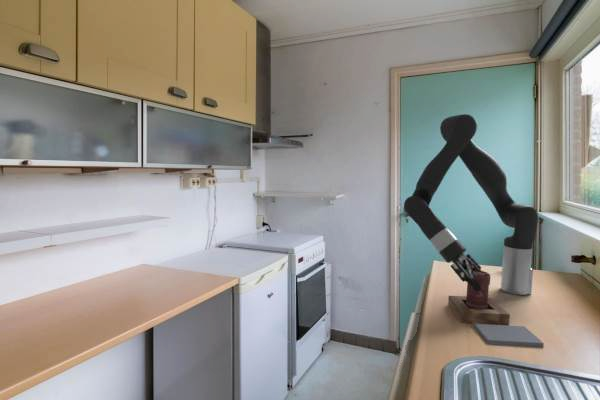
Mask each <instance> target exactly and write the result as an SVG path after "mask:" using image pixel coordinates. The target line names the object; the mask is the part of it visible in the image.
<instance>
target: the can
mask: <svg viewBox="0 0 600 400" xmlns="http://www.w3.org/2000/svg"><path fill="white" fill-rule="evenodd" d="M471 274H472V276H473V278H475V280H476V281H477V282H478V283H479V284H480V285H481V287H482V289H480V290H479V291H477V292H476V291H475V290H474V289H473V288H472V287H471V285H470V284H469V283H468V282H466V284H467V286H466V296H467V298H466V306H467V307H468V308H469V309H487V305H488V297H489V289H490V285H491V275H490V273H488V271H483V270H481V271H479V270H472V272H471Z"/></svg>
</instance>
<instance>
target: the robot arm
mask: <svg viewBox="0 0 600 400" xmlns="http://www.w3.org/2000/svg"><path fill="white" fill-rule="evenodd" d="M439 128H440V129H439V130H440V135H441V137H442V138H443V139H444V142H446V143H445V145H444V146H443V147H442V148H441V150H440V151H439V152H438V153H437V154H436V155H435V156H434V157H433V159H431V160H430V162H428V164H427V165H426V167H425V168H424V169H423V171H422V173H421V175H420V177H418V180H417V183H416V184H415V185H416V186H415V189H414V192H413V193H412V195H411V196H408V197H407V198H406V199H405V200H404V203H403V208H404V209H403V210H404V211H405V213H406V214H407V216H408V217H410V218H411V219H412V221H413V222H415V223H416V224H417V226H418V227H419V229H420V231H422V233H423V235H424V236H425V237H426V239H428V241H429V242H430V243H431V244H432V246H433V249H435V250H436V251H437V252H438V254H439V255H440V256H441V257H442V259H444V261H445V262H446V263H448V264H449V263H451V262H452V264H451V265H450V267H451V268H452V270H453V271H454V273H455V274H456V275H457V277H459V279H460V280H461V281H462V282H463V283H464V282H465V283H467V282H468V283H469V284H470V285H471V287H472V288H473V289H474V290H475V291H476V292H477V291H479V290H480V289H482V287H481V285H480V284H479V283H478V282H477V281H476V280H475V278H473V276H472V274H471V272H472V270H479V271H482V266H481V265H480V264H479V263H478V262H477V261H476V260H475V259H474V257H473V256H472V255H470V253H468V254H466V255H465V252H466V251H467V248H466V247H465V245H464V244H463V243H462V241H460V240H459V239H458V238H457V236H455V234H454V233H453V232H452V231H451V230H450V229H448V228H447V226H446V225H445V224H444V223H443V222H442V220H441V219H440V218H439V217H438V216H436V215H435V213H434V212H433V211H432V209H431V208H430V205H431V204H430V203H431V201H432V199H433V197H434V195H435V194H436V192H437V190H438V189H439V187H440V185H441V183H442V181H443V180H444V178H445V176H446V174H447V173H448V171H449V170H450V168H451V166H452V165H453V164H454V163H455V161H456V160H457V158H458V157H459V158H460V160H461V161H462V163H463V164H464V165H465V167H466V168H467V170H468V171H469V172H470V173H471V175H472V177H473V178H474V180H475V181H476V183H477V184H478V186H479V187H480V188H481V189H482V190H483V192H484V193H485V195H486V197H487V198H488V200H490V202H491V203H492V205H493V208H494V209H495V211H496V213H497V215H498V216H499V219H500V220H501V222H502V223H503V224H504V225H505V226H507V227H509V228H513V229H514V230H513V234H512V235H510V236H506V237H505V238H504V241H503V253H502V267H501V278H500V279H501V280H500V281H501V282H500V290H501V291H503V292H505V293H509V294H512V295H518V296H525V295H531V294H532V290H533V289H532V288H533V277H534V269H533V268H532V257H533V255H532V254H533V247H534V246H533V245H534V243H535V241H536V238H537V237H536V236H537V231H538V223H539V213H538V211H537V209H536V208H535V207H534V206H531V205H528V204H521V203H517V202H515V200H514V199H513V198H512V197H511V195H510V194H509V192H508V189H507V185H508V183H507V181H508V180H507V176H506V173H505V172H504V170H503V169H502V167H501V166H500V164H499V162H497V160H496V159H495V158H494V157H493V156H492V155H490V154H489V153H487V152H486V151H485V150H483V149H482V148H480V147H479V146H478V145H477V144H476V143H475V142H474V141H473V138H474V137H475V134H476V133H477V130H478V122H477V120H476V118H475V117H474V116H472V115H471V114H466V113H464V114H457V115H453V116H452V115H451V116H448V117H446V118H444V119H443V120H442V121H441V123H440V126H439Z"/></svg>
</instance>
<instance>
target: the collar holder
mask: <svg viewBox="0 0 600 400" xmlns="http://www.w3.org/2000/svg"><path fill="white" fill-rule="evenodd" d="M466 298H467V295H464V296H463V295H448V300H447V306H448V308H449V309H450V310H451V311H452V312H453V314H454V315H455V317H456V318H457V319H458V320H459V321H460V323H461V324H472V325H474V324H491V325H509V326H510V318H511V315H510V313H509V312H508V311H507V310H506V309H505V308H503V307H502V306H501V305H500V304H499V303H497V302H496V301H495V300H494V299H493V298H492V297H489V296H488V305H487V309H469V308H468V307H467V306H466Z"/></svg>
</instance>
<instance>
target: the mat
mask: <svg viewBox="0 0 600 400" xmlns="http://www.w3.org/2000/svg"><path fill="white" fill-rule="evenodd" d="M473 327H474V328H475V330H476V331H477V332H478V334H480V336H481V337H482V338H483V339H484V340H485V342H486V343H487V344H488V345H489V344H492V345H505V346H507V345H508V346H521V347H522V346H524V347H542V348H543V347H544V344H545V343H544V342H543V341H542V340H540V338H539V337H537V335H535V334H534V333H532V332H531V331H530V330H529V329H528V328H527V327H526V326H523V325H510V324H509V325H491V324H473Z"/></svg>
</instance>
